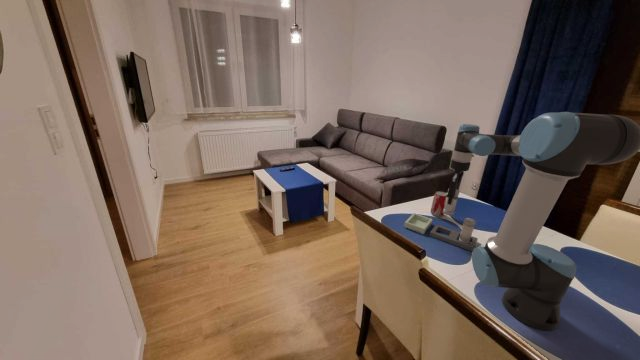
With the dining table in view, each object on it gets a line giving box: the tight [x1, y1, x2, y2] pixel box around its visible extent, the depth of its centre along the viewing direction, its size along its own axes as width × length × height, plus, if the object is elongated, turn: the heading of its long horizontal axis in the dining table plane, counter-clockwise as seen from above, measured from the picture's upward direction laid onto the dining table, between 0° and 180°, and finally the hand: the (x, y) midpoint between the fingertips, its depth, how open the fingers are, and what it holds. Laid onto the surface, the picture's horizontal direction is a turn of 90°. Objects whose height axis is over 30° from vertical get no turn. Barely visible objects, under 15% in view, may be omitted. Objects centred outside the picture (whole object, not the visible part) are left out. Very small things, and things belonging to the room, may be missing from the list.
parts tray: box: [403, 212, 433, 235], centre depth 134 cm, size 13×10×3 cm
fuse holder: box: [429, 217, 478, 253], centre depth 122 cm, size 10×19×12 cm, turn 52°
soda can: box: [430, 190, 448, 218], centre depth 145 cm, size 7×7×13 cm
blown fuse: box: [443, 188, 460, 216], centre depth 120 cm, size 5×5×12 cm
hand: (449, 207), depth 121 cm, fingers closed on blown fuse, 4 cm apart
